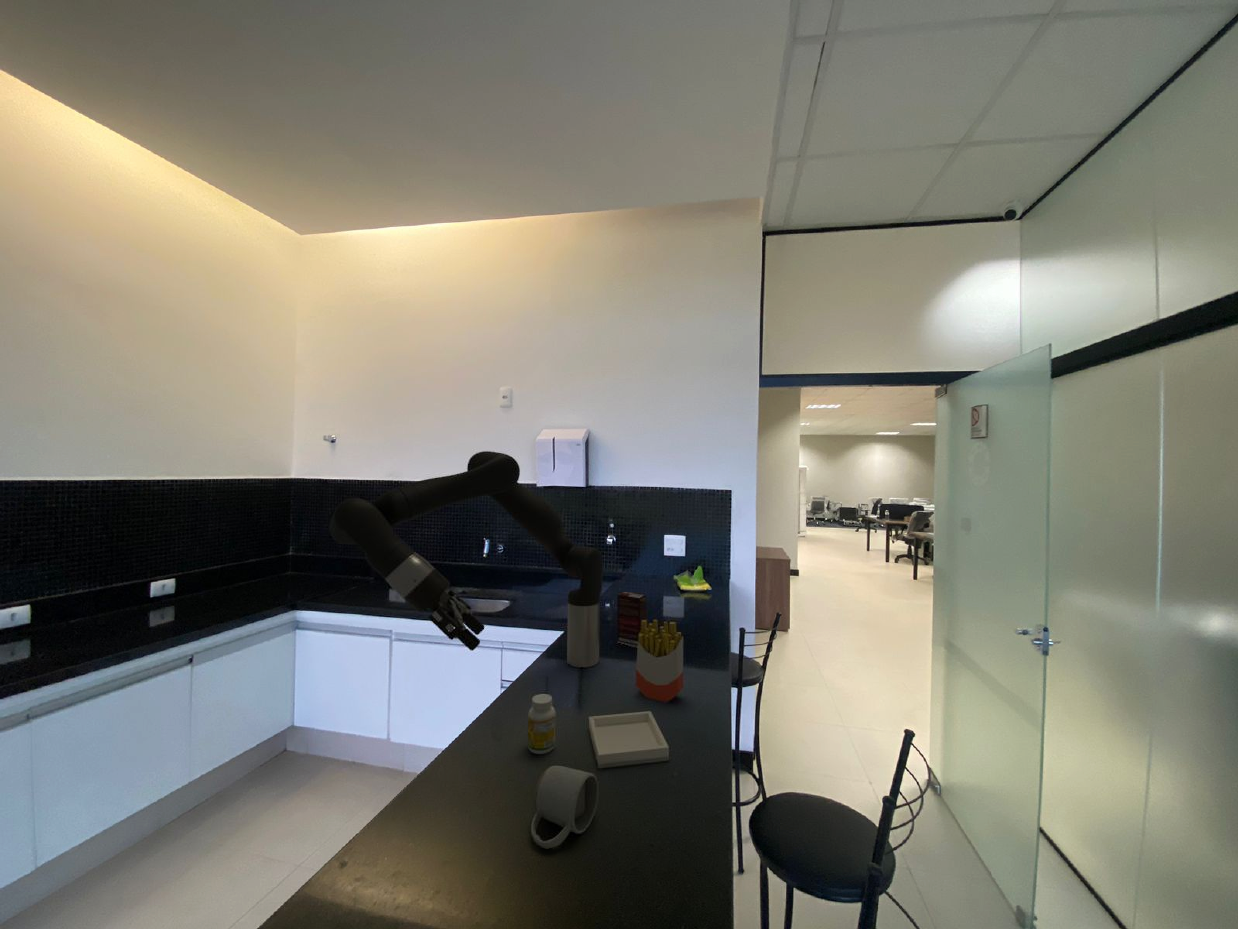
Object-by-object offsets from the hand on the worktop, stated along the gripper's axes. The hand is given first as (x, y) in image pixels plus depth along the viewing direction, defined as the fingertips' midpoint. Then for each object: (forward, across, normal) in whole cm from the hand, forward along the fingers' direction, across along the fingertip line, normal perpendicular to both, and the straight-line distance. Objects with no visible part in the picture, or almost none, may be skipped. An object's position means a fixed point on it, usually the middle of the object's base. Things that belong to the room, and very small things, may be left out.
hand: (479, 638), depth 91 cm
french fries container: (+45, +16, -14) cm, 50 cm away
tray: (+36, -2, -5) cm, 37 cm away
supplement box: (+46, +51, -14) cm, 70 cm away
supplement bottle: (+25, 0, +7) cm, 26 cm away
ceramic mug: (+27, -21, +5) cm, 35 cm away
